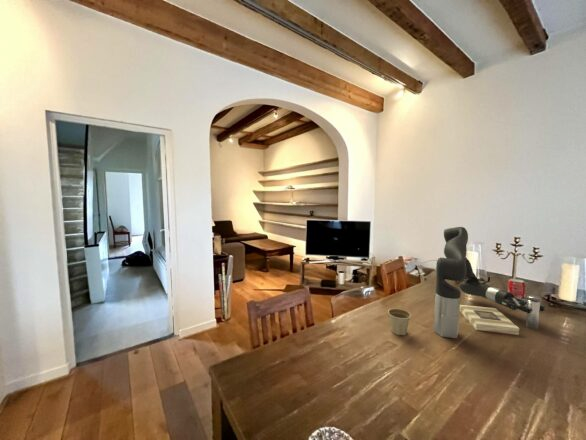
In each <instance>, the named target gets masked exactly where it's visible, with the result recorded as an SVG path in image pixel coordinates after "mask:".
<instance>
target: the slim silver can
mask: <svg viewBox="0 0 586 440" xmlns="http://www.w3.org/2000/svg"><path fill="white" fill-rule="evenodd" d="M526 297H527V298H526V299H528V306H527V308H530V309H531V313H526V315H525V316H526V318H525V327H528V328H529V329H535V330H536V329H539V319H540V318H539V317H540V305H541V302H542V297H539V296H537V295H530V294H529V295H527V296H526Z"/></svg>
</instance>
